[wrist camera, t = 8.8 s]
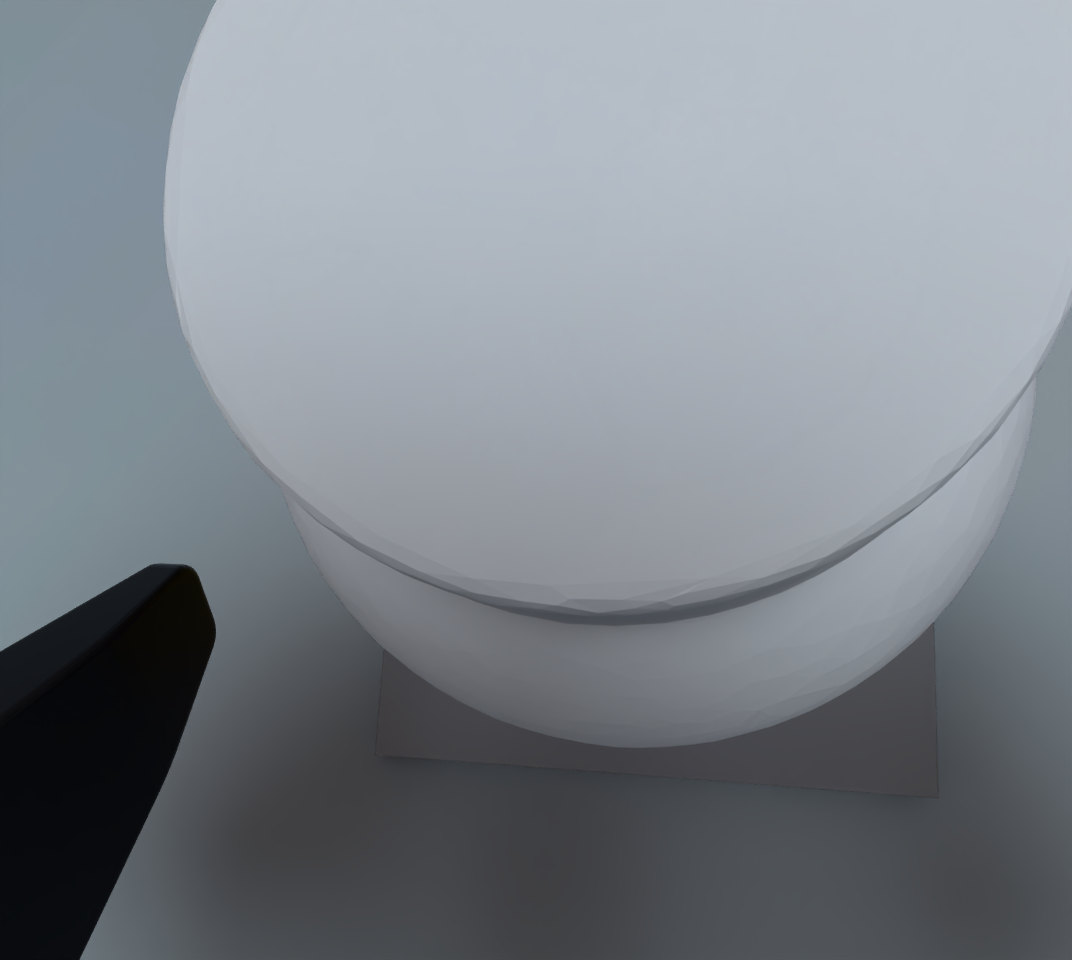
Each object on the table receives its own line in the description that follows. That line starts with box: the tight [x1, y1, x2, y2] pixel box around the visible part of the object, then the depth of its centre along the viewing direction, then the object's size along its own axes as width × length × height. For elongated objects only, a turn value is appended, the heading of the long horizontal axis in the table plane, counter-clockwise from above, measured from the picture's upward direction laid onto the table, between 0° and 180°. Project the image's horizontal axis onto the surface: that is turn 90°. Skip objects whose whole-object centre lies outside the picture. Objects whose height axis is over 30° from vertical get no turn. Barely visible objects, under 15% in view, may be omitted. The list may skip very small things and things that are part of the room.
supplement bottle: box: [163, 0, 1072, 748], centre depth 11 cm, size 7×7×13 cm
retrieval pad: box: [375, 622, 938, 798], centre depth 17 cm, size 10×10×1 cm
